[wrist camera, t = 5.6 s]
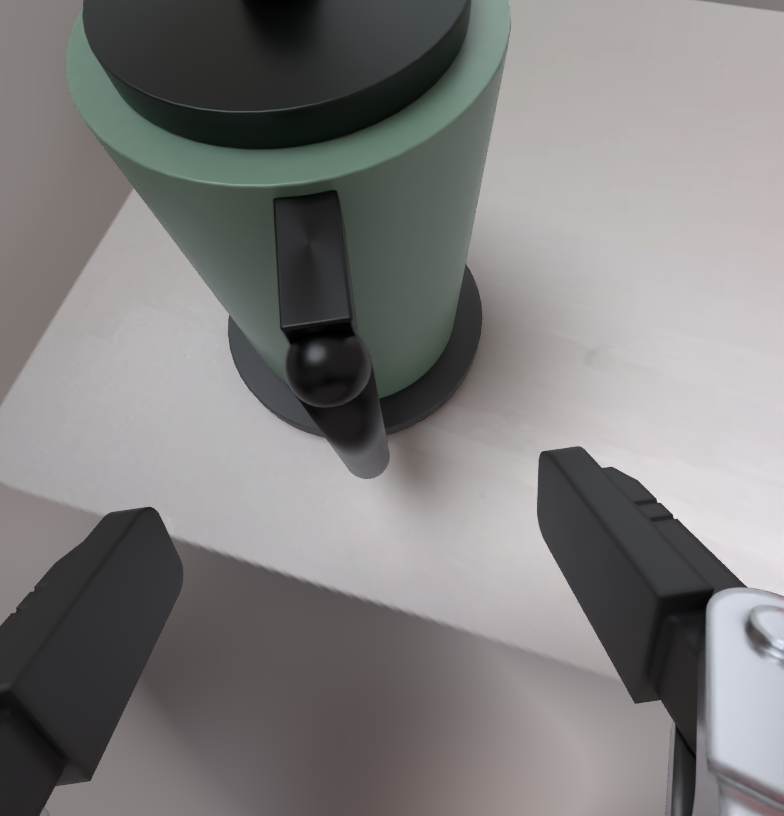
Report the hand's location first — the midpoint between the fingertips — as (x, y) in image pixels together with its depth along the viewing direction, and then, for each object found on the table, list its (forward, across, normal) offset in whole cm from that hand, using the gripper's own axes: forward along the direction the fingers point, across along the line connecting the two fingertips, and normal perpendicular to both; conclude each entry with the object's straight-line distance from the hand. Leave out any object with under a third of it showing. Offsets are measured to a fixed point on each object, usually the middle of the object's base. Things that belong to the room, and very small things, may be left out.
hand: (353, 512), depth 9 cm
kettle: (+16, 0, -1) cm, 16 cm away
